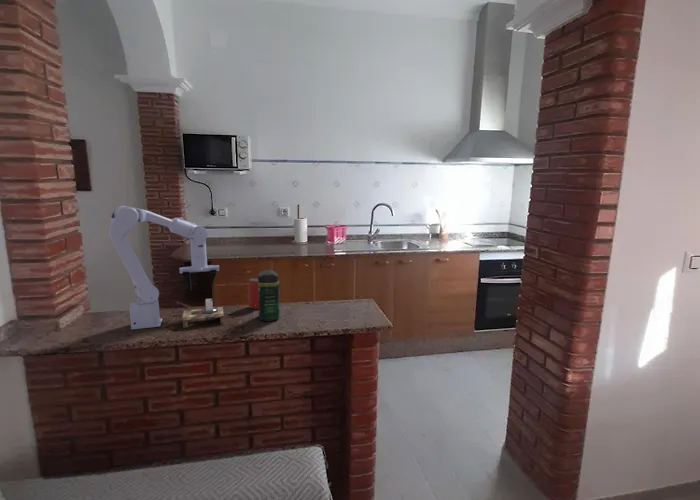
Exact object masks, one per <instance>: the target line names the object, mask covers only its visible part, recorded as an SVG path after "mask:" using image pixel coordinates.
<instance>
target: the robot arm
mask: <svg viewBox="0 0 700 500" xmlns="http://www.w3.org/2000/svg"><path fill="white" fill-rule="evenodd" d="M137 222H139V223H143V222H149V223H154V224H157V225H160V226H164V227H165V228H166V227H167V228H168V229H169V231H170V232H171V233H173V234H176V235H178V236H182V237H186V238H189V242H190V260H191V266H182V267H179V274H182V277H183V278H184V280H185V281H186V284H187V286H188V290H189V292H191V291H192V290H193V289H192V282H191V281H192V280H191V278H192V277H191V273H199V272H200V273H201V272H209V277H210V278H209V279H210V283H209V290H213V284H214V281H215V278H216V275H217V272H219V271H220V265H219V264H217V265H216V264H215V265H214V264H212V265H211V264H209V265H208V257H207V256H208V253H207V240H206V239H207V238H208V235H209V233H208V232H207V229H206V227H204V226H202V225H197V224H196V222H193V221H192V222H190V221H187V220H184V217H174V218H171V219H170V218H168V217H165V216H163V215H160V214H157V213H156V212H152V211H149V210H148V209H147V210H146V209H143V208H142V209H141V208H137V207H133V206H127V205H119V206H117V207H116V208H115V209H114V210H113V211H112V213H111V214H110V222H109V229H108V237H109V239H110V241H111V243H112V245H113V247H114V249H115V250H116V252H117V254H118V256H119V258H120V260H121V262H122V263H123V265H124V267H125V269H126V271H127V273H128V275H129V277H130V279H131V281H132V284H133V286H134V291H133V292H134V294H135V295H136V296H137V298H136V300H135V302H130V304H129V319H130V330H139V329H140V330H141V329H147V328H148V329H149V328H150V329H151V328H156V327H157V328H158V327H161V325H162V321H163V318H161V317H160V316H161V315H160V314H161V313H160V305H159V297H160V291H159V289H158V287H156V286H155V285H153V284H152V282H151V280H150V278H149V277H148V276H147V274H146V272H145V269H144V268H143V265H142V264H141V262H140V260H139V258H138V256H137V254H136V253H135V251H134V249H133V246H132V245H131V242H130V241H129V239H128V236H127V235H128V233H129V232H130V230H131V228H132V227H133V226H134V225H136V224H137Z"/></svg>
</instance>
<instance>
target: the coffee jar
mask: <svg viewBox="0 0 700 500" xmlns="http://www.w3.org/2000/svg"><path fill="white" fill-rule="evenodd" d="M257 278H258V298H259V309H258V318H259V320H260V321H263V322H265V321H266V322H273V321H276V320H278V319H280V279H279V274H278V273H277V272H276V271H274V270H273V269H267V270H261V271H260V272H259V273H258V274H257Z"/></svg>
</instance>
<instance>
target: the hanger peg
mask: <svg viewBox="0 0 700 500" xmlns="http://www.w3.org/2000/svg"><path fill="white" fill-rule="evenodd" d="M200 309H201V313H200V314H212V313H216V312H218V308H217V307H216V306H214V304H213V298H205V307H203V308H200ZM204 319H205V321H213V320H215V319H216V317H208V318H204Z"/></svg>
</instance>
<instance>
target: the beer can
mask: <svg viewBox="0 0 700 500" xmlns="http://www.w3.org/2000/svg"><path fill="white" fill-rule="evenodd" d="M248 281H249V282H248V286H247V287H248V288H247V289H248V307H249V308H250V309H252V310H259V298H258V277H253V278H250V279H249V280H248ZM255 305H256V306H255Z"/></svg>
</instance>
